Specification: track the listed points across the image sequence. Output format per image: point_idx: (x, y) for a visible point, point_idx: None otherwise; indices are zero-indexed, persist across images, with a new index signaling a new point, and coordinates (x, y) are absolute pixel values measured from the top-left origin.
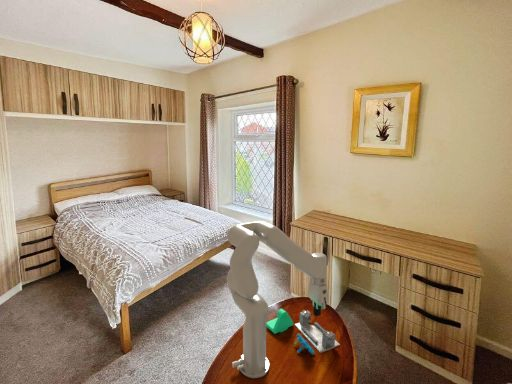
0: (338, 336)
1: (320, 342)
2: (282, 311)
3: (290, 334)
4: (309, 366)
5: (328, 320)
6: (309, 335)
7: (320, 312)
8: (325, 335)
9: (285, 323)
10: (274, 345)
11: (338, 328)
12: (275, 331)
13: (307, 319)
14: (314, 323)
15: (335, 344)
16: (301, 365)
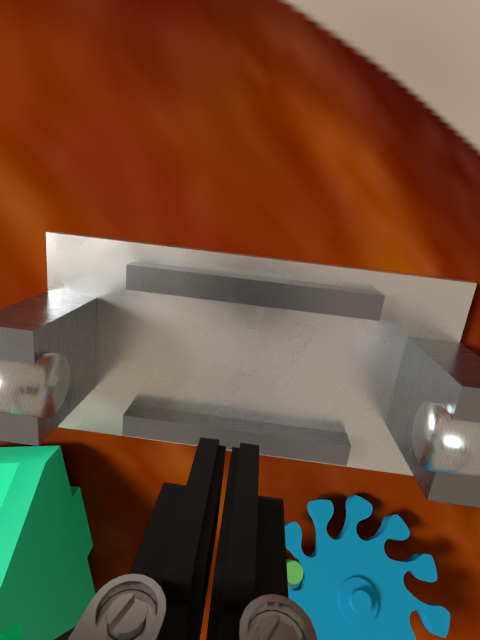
0: (377, 183)
1: (350, 407)
2: None
3: (140, 506)
4: (450, 592)
5: (126, 63)
6: None
7: (257, 483)
8: (463, 490)
9: (52, 559)
10: None
11: (289, 72)
12: None
13: (73, 350)
14: (131, 287)
15: (451, 319)
16: (412, 619)
